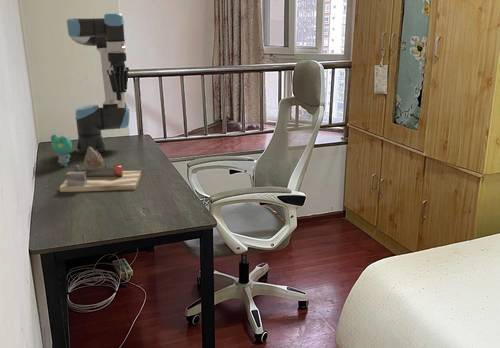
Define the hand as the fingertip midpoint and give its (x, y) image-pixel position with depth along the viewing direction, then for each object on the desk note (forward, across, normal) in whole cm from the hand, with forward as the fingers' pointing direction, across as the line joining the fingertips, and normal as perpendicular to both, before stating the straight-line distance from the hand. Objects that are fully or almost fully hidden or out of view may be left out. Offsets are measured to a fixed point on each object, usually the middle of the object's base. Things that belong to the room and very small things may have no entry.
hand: (121, 107), depth 216 cm
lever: (+27, -15, +3) cm, 31 cm away
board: (+29, -17, +1) cm, 34 cm away
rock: (+30, -4, +15) cm, 33 cm away
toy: (+30, -2, +33) cm, 45 cm away
